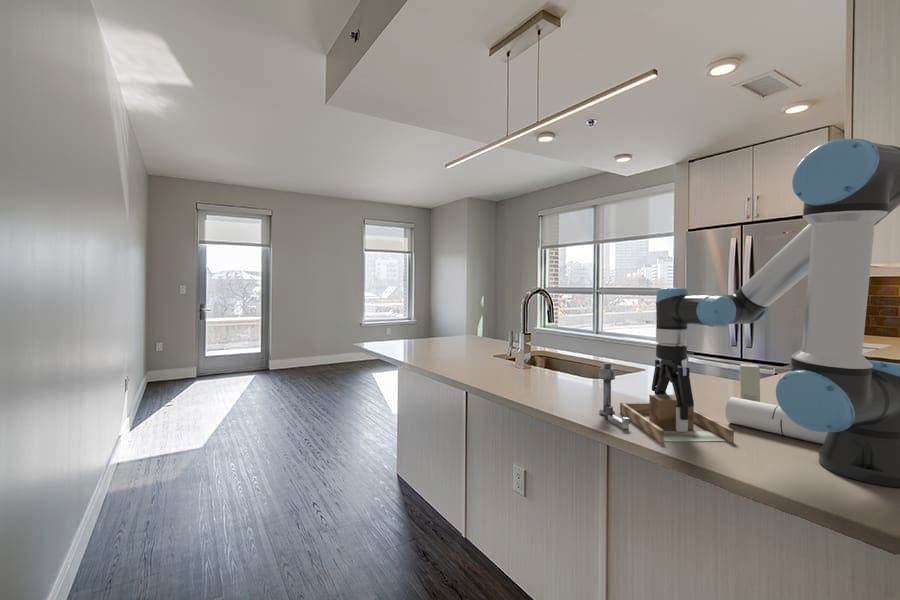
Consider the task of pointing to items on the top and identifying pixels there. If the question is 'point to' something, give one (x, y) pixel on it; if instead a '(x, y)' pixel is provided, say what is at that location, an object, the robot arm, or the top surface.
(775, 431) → the cylindrical container
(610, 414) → the crank handle
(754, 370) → the box
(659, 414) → the block
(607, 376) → the post
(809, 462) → the top surface
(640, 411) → the bay
